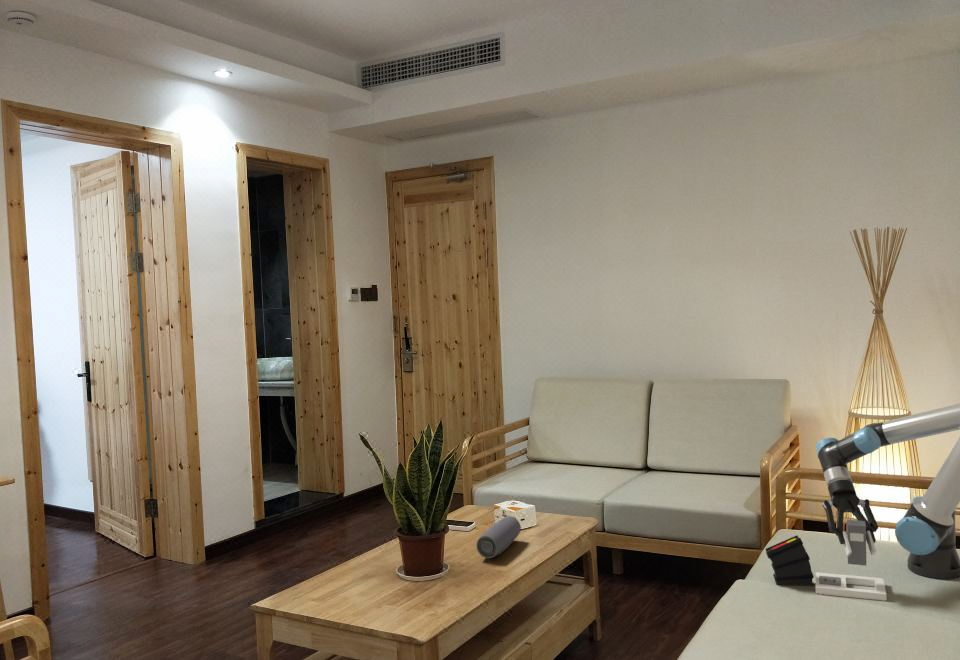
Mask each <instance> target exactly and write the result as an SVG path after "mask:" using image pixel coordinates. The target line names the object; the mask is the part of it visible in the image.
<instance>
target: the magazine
mask: <svg viewBox="0 0 960 660" xmlns="http://www.w3.org/2000/svg"><path fill="white" fill-rule="evenodd" d="M765 554H766V556H767V558H768V559H769V560H770V562H771V567H772V570H773V574H772V575H773V578H774V582H775V585H777V586H810V587H811V586H813V582H814V581H813V579H814V577H815V576H814V573H813V571H812V567H811V563H810V560H811V558H810V555H809V553H808V552H807V550H806V549H805V546H804V542H803V540H802V539H801V537H799V535H794V536H791V537H790V538H787V539H785V540H782V541H780V542H778V543H776V544H774V545H771V546H768V547H766V548H765Z"/></svg>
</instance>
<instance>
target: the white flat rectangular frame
mask: <svg viewBox="0 0 960 660" xmlns="http://www.w3.org/2000/svg"><path fill="white" fill-rule="evenodd" d="M847 585H854V586H855V585H856V586H867V587H868V586H869V587H874V589H865V588H864V589H863V588H855V587H854V588H852V587H847ZM816 593H819V594H818V595H823V594H824V595H826V596H834V597H843V598H844V597H846V598H856V599H865V600H873V601H887V590H886V585H885V581H884V578H882V577H872V576H871V577H870V576H864V575H863V576H862V575H861V576H860V575H852V574H851V575H850V574H837V573H827V572H826V573H825V572H818V571H816V572H815V594H816Z"/></svg>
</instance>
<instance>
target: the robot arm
mask: <svg viewBox="0 0 960 660" xmlns="http://www.w3.org/2000/svg"><path fill="white" fill-rule="evenodd" d="M955 431H960V403H956V404H952V405H947V406H943V407H940V408H936V409H931V410H927V411H924V412H919V413H913V414H910V415H906V416H902V417H899V418H898V417H896V418H894V419H890V420H886V421H882V422H873V423H870V424H867V425H865V426H864V427H862V428H860V429H858V430H856V431H854V432H853V433H850V434H849V435H847V436H845V437H843V438H841V439H837V438H835V437H826V438H822V439H820V440H819V441H818V442H817V443H816V446H815V448H816V454H817V459H818V460H819V463H820V466H821V470H822V473H823V476H824V479H825V484H826V486H827V490H828V493H829V497H830V500H828V499H827V500H824V501H823V503H822V507H823V509H824V511H825V514H826V520H827V525H828V529H829V532H830V534H835V536H836V537H837V538H838V541H839V544H840V545H843V548H844V551H845V554H846V556H850V554H851V552H852V551H851V548H850V544H849V541H848V538H847V531H843V527H844V515H845V514H844V513H851V515H852V516H854V517H855V519H856V520H858V521H865V524H866V545H867V547H868V549H869V554H870V555H871V556H875V555H876V553H877V549H876V546H875V543H876V542H877V541H876V540H877V539H876V536H875V533H876V532H877V530H878V529H879V525H878V522H877V521H876V519H875V515H874V514H873V511H872V508H871V506H870V500H869V499H867V498H866V499H860V497H858V495H857V492H856V489H855V486H854V483H853V480H852V477H851V474H850V471H849V467H848V464H850V463H851V462H853V461H856V460H858V459H860V458H863V457H864V456H867V455H869V454H872V453H874V452H875V451H876V450H878V449H880V448H881V447H886V446H887V447H888V446H890V445H894V444H898V443H903V442H908V441H913V440H914V441H915V440H918V439H921V438H925V437H926V438H927V437H931V436H935V435H936V436H937V435H941V434H946V433H950V432H955ZM959 504H960V437H958V440H957V441H956V443H955V444H954V446H953V447H952V449H951V450H950V453H949V454H948V455H947V458H946V459H945V461H944V462H943V464H942V465H941V467H940V469H939V471H938V472H937V474H936V475H935V477H934V478H933V480H932V481H931V483H930V485H929V486H928V488H927V490H926V491H925V493H924V495H922V496H914V497H913V498H912V503H911V504H910V506H909V508H908V509H907V511H906V512H905V514H904V515H903V517H902V518H901V519H900V520H898V521H897V523H896V526H895V529H894V533H895V538H896V540H897V542H898V544H899V545H900V546H901V547H902V548H903V549H904V550H905V551H907V552H909V553H908V557H907V560H906V561H907V562H906V563H907V564H906V565H907V568H908V570H909V571H910V572H912V573H914V574H916V575H918V576H921V577H926V578H931V579H942V580H948V579H957V578H959V577H960V556H959V554H958V550H957V548H956V541H957V540H956V509H957V507H958V505H959ZM859 505H860V506H861V508H862V510H863V513H864V514H863V513H862V511H861V509H860V507H859ZM832 506H833V507H834V508H836V510H837V514H836V515H837V517H836V522H835V519H834V513H833V508H832ZM864 515H865V516H864Z"/></svg>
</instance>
